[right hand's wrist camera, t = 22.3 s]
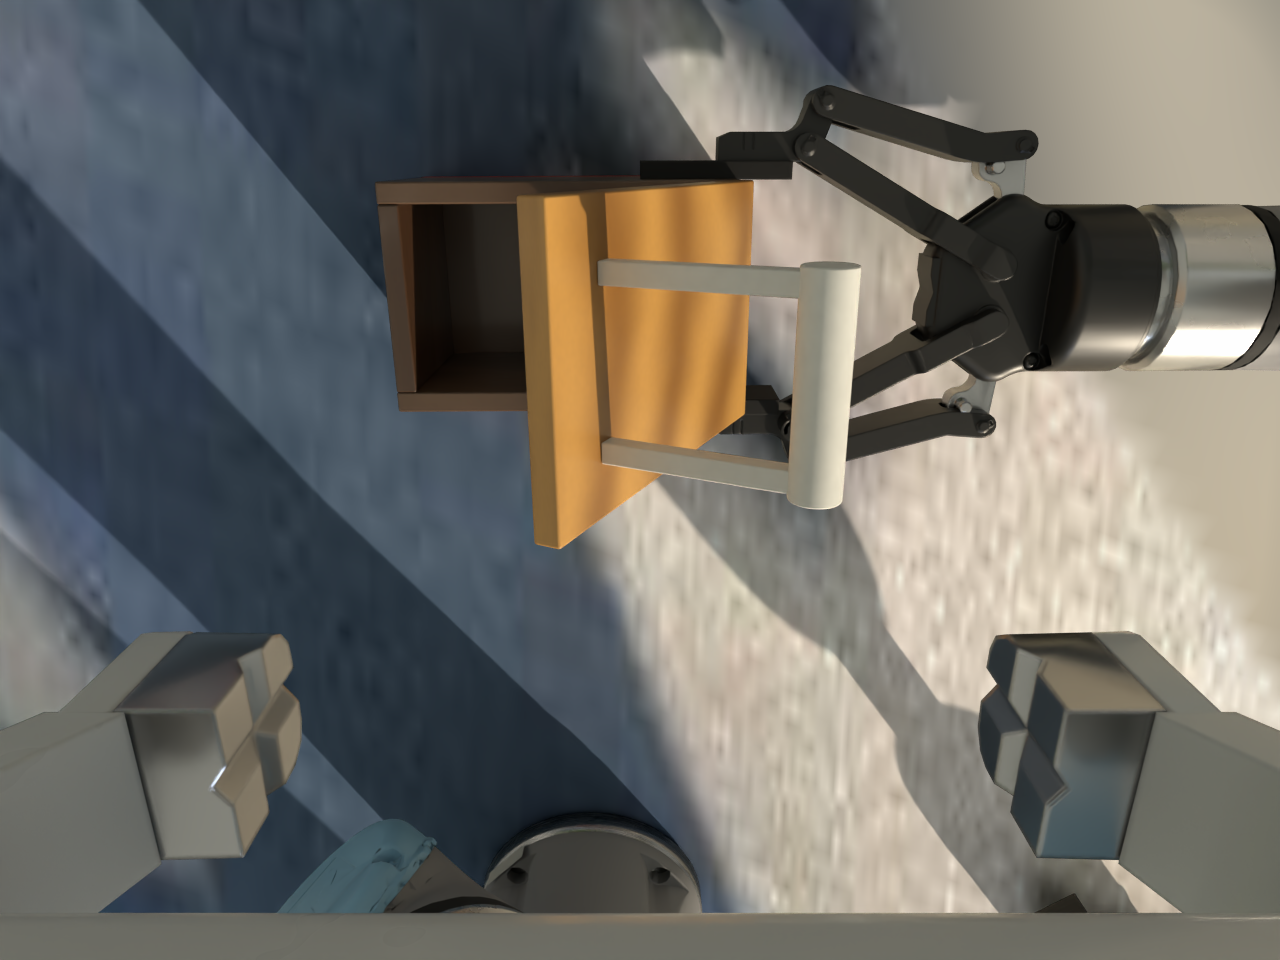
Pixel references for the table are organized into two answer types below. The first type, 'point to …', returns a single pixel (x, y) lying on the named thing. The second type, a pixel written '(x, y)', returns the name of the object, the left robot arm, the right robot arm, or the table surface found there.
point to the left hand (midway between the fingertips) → (640, 290)
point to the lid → (667, 349)
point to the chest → (463, 285)
